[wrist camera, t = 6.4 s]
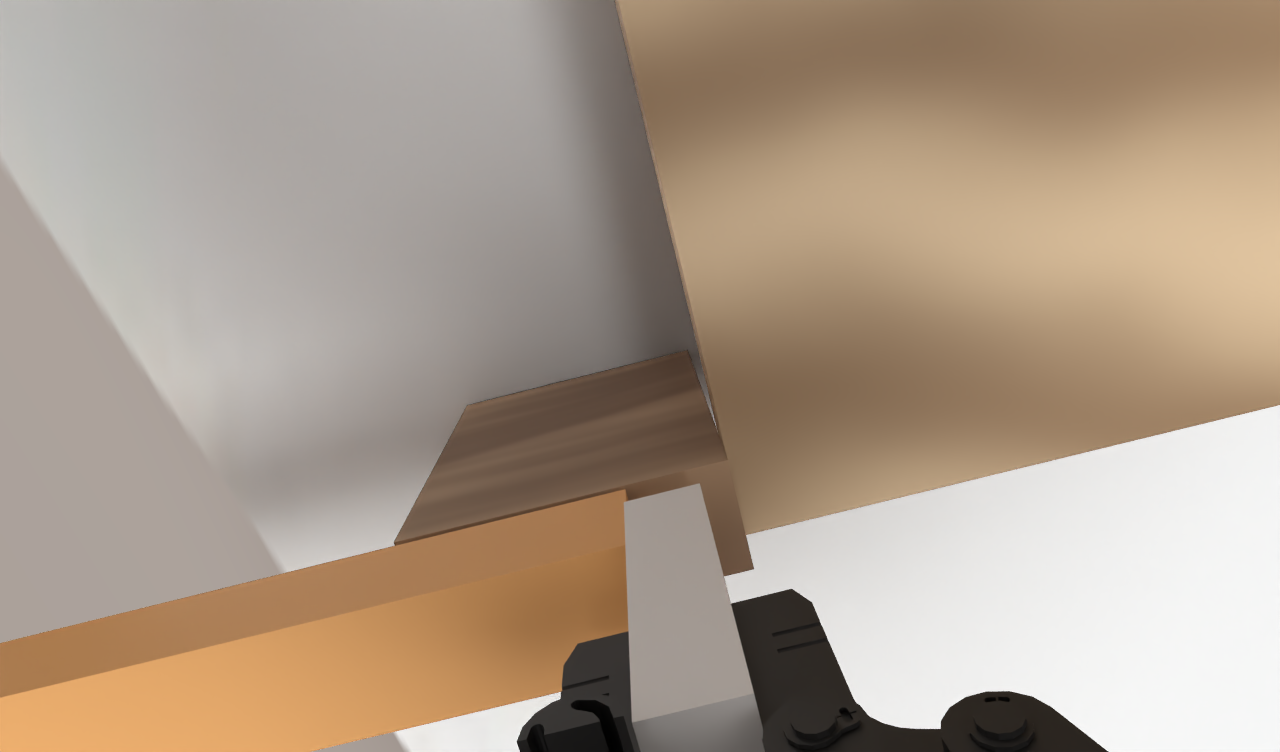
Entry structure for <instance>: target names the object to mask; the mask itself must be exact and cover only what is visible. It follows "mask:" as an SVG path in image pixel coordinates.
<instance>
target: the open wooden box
mask: <svg viewBox="0 0 1280 752" xmlns="http://www.w3.org/2000/svg"><path fill="white" fill-rule="evenodd" d="M699 483H700V486H701V490H702V494H703V498H704V502H705V506H706V510H707V513H708V517H709V521H710V525H711V529H712V533H713V537H714V540H715V544H716V548H717V552H718V556H719V560H720V564H721V568H722V571H723V575H724V576H727V575H732V574H736V573H740V572H744V571H748V570H752V569H754V567H753V563H752V559H751V555H750V551H749V546H748V542H747V538H746V534H745V530H744V525H743V521H742V517H741V513H740V509H739V505H738V500H737V496H736V492H735V488H734V484H733V479H732V475H731V471H730V467H729V463H728V459H727V456H726V454H725V451H724V448H723V445H722V443H721V440H720V437H719V434H718V432H717V429H716V426H715V424H714V421H713V418H712V415H711V413H710V410H709V407H708V405H707V402H706V399H705V396H704V394H703V391H702V388H701V386H700V383H699V380H698V377H697V375H696V372H695V369H694V366H693V364H692V361H691V358H690V356H689V353H688V350H686V351H682V352H678V353H674V354H670V355H666V356H662V357H658V358H654V359H650V360H646V361H642V362H638V363H634V364H630V365H626V366H622V367H618V368H614V369H610V370H606V371H602V372H598V373H594V374H590V375H586V376H582V377H578V378H574V379H570V380H566V381H562V382H558V383H554V384H550V385H546V386H542V387H538V388H534V389H530V390H526V391H522V392H518V393H514V394H510V395H507V396H503V397H499V398H495V399H491V400H487V401H483V402H479V403H475V404H471V405H467V407H466V408H465V410H464V412H463V414H462V416H461V418H460V420H459V421H458V423H457V425H456V427H455V429H454V431H453V433H452V435H451V436H450V438H449V440H448V442H447V444H446V446H445V448H444V450H443V451H442V453H441V455H440V457H439V459H438V461H437V463H436V464H435V466H434V468H433V470H432V472H431V474H430V476H429V478H428V479H427V481H426V483H425V485H424V487H423V489H422V491H421V492H420V494H419V496H418V498H417V500H416V502H415V504H414V506H413V507H412V509H411V511H410V513H409V515H408V517H407V519H406V521H405V522H404V524H403V526H402V528H401V530H400V532H399V534H398V535H397V537H396V539H395V541H394V544H395V546H396V545H401V544H405V543H409V542H413V541H417V540H421V539H425V538H429V537H433V536H437V535H441V534H445V533H449V532H453V531H457V530H461V529H465V528H470V527H474V526H478V525H482V524H486V523H490V522H494V521H498V520H502V519H506V518H510V517H514V516H518V515H522V514H526V513H530V512H534V511H538V510H543V509H547V508H551V507H555V506H559V505H563V504H567V503H571V502H575V501H579V500H583V499H587V498H591V497H595V496H599V495H603V494H607V493H612V492H616V491H620V490H624V489H625V490H626V493H627V497H628V501H630V500H634V499H638V498H642V497H646V496H650V495H654V494H658V493H662V492H666V491H670V490H674V489H678V488H683V487H687V486H691V485H695V484H699Z"/></svg>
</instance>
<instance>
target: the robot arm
mask: <svg viewBox="0 0 1280 752" xmlns="http://www.w3.org/2000/svg"><path fill="white" fill-rule="evenodd" d="M624 522H625V549H626V576H627V603H628V630H629V631H627V632H623V633H619V634H615V635H611V636H607V637H603V638H599V639H594V640H590V641H586V642H582V643H578V644H577V645H576V647H575V649H574V650H573V652H572V653H571V655H570V656H569V658H568V659H567V661H566V662H565V664H564V665H563V677H562V691H561V699H560V700H557V701H555V702H552V703H551V704H549V705H548V706H546V707H544V708H543V709H541V710H540V711H538V712H537V713H535V714H534V715H533V716H532V718H531V719H530V720H529V721H528V722H527V723H526V724H525V725H524V726H523V728H522V730H521V732H520V735H519V737H518V740H517V744H518V747H519V750H520V752H1108V751H1106V750H1105V749H1104V748H1103V747H1101V746H1100V745H1099V744H1098V743H1096V742H1095V741H1094V740H1092V739H1091V738H1090V737H1089V736H1087V735H1086V734H1085V733H1084V732H1082V731H1081V730H1080V729H1078V728H1077V727H1076V726H1075V725H1073V724H1072V723H1071V722H1069V721H1068V720H1067V719H1066V718H1064V717H1063V716H1062V715H1061V714H1059V713H1058V712H1057V711H1055V710H1054V709H1053V708H1052V707H1050V706H1048V705H1046V704H1045V703H1043V702H1041V701H1039V700H1037V699H1036V698H1034V697H1031V696H1027V695H1023V694H1019V693H1014V692H1010V691H1002V692H983V693H980V694H976V695H972V696H968V697H965V698H964V699H962V700H961V701H959V702H957V703H956V704H954V705H953V706H951V707H950V708H949V709H948V711H947V713H946V714H945V716H944V717H943V719H942V720H941V729H909V728H899V727H895V726H891V725H887V724H883V723H881V722H879V721H877V720H875V719H873V718H871V717H869V716H868V715H867V714H866V712H865V711H864V710H863V709H862V707H861V706H860V705H858V704H856V702H855V701H854V699H853V697H852V694H851V692H850V690H849V687H848V685H847V683H846V680H845V678H844V676H843V673H842V671H841V669H840V667H839V664H838V662H837V660H836V657H835V655H834V653H833V650H832V648H831V646H830V643H829V641H828V640H827V636H826V634H825V632H824V630H823V627H822V625H821V623H820V620H819V618H818V616H817V613H816V611H815V609H814V606H813V604H812V602H810V601H809V600H807V599H806V598H804V597H803V596H802V595H800V594H799V593H797V592H796V591H794V590H793V589H789V590H785V591H781V592H777V593H773V594H769V595H765V596H761V597H757V598H752V599H748V600H744V601H740V602H736V603H732V604H731V602H730V599H729V595H728V591H727V587H726V583H725V579H724V575H723V571H722V568H721V564H720V560H719V556H718V552H717V548H716V544H715V540H714V537H713V533H712V529H711V525H710V521H709V517H708V513H707V510H706V506H705V502H704V498H703V494H702V490H701V486H700V483H699V484H695V485H691V486H687V487H683V488H678V489H674V490H670V491H666V492H662V493H658V494H654V495H650V496H646V497H642V498H638V499H634V500H630V501H626V502H624Z"/></svg>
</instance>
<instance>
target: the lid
mask: <svg viewBox="0 0 1280 752" xmlns="http://www.w3.org/2000/svg"><path fill="white" fill-rule="evenodd" d="M615 4H616V9H617V13H618V17H619V21H620V25H621V29H622V34H623V38H624V42H625V46H626V50H627V55H628V59H629V63H630V67H631V71H632V75H633V80H634V84H635V88H636V92H637V96H638V100H639V105H640V109H641V113H642V117H643V121H644V126H645V130H646V134H647V138H648V142H649V146H650V151H651V155H652V159H653V163H654V167H655V171H656V176H657V180H658V184H659V188H660V192H661V196H662V201H663V205H664V209H665V213H666V217H667V222H668V226H669V230H670V234H671V238H672V242H673V247H674V251H675V255H676V259H677V263H678V267H679V272H680V276H681V280H682V284H683V288H684V293H685V297H686V301H687V305H688V309H689V313H690V318H691V322H692V326H693V330H694V334H695V338H696V343H697V347H698V351H699V355H700V359H701V364H702V368H703V372H704V376H705V380H706V384H707V389H708V393H709V397H710V401H711V405H712V409H713V414H714V418H715V422H716V426H717V430H718V434H719V437H720V440H721V443H722V445H723V448H724V451H725V454H726V456H727V459H728V463H729V467H730V471H731V475H732V479H733V484H734V488H735V492H736V496H737V500H738V505H739V509H740V513H741V517H742V521H743V525H744V530H745V534H746V535H748V534H752V533H756V532H760V531H764V530H768V529H773V528H777V527H781V526H785V525H789V524H793V523H797V522H801V521H805V520H809V519H814V518H818V517H822V516H826V515H830V514H834V513H838V512H842V511H846V510H851V509H855V508H859V507H863V506H867V505H871V504H875V503H879V502H883V501H887V500H892V499H896V498H900V497H904V496H908V495H912V494H916V493H920V492H924V491H929V490H933V489H937V488H941V487H945V486H949V485H953V484H957V483H961V482H965V481H970V480H974V479H978V478H982V477H986V476H990V475H994V474H998V473H1002V472H1007V471H1011V470H1015V469H1019V468H1023V467H1027V466H1031V465H1035V464H1039V463H1043V462H1048V461H1052V460H1056V459H1060V458H1064V457H1068V456H1072V455H1076V454H1080V453H1084V452H1089V451H1093V450H1097V449H1101V448H1105V447H1109V446H1113V445H1117V444H1121V443H1126V442H1130V441H1134V440H1138V439H1142V438H1146V437H1150V436H1154V435H1158V434H1162V433H1167V432H1171V431H1175V430H1179V429H1183V428H1187V427H1191V426H1195V425H1199V424H1204V423H1208V422H1212V421H1216V420H1220V419H1224V418H1228V417H1232V416H1236V415H1240V414H1245V413H1249V412H1253V411H1257V410H1261V409H1265V408H1269V407H1273V406H1277V405H1280V0H615Z"/></svg>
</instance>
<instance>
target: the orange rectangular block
mask: <svg viewBox="0 0 1280 752" xmlns="http://www.w3.org/2000/svg"><path fill="white" fill-rule="evenodd" d="M626 501H628V497H627V493H626V490H625V489H624V490H620V491H616V492H612V493H607V494H603V495H599V496H595V497H591V498H587V499H583V500H579V501H575V502H571V503H567V504H563V505H559V506H555V507H551V508H547V509H543V510H538V511H534V512H530V513H526V514H522V515H518V516H514V517H510V518H506V519H502V520H498V521H494V522H490V523H486V524H482V525H478V526H474V527H470V528H465V529H461V530H457V531H453V532H449V533H445V534H441V535H437V536H433V537H429V538H425V539H421V540H417V541H413V542H409V543H405V544H401V545H396V546H392V547H388V548H384V549H380V550H376V551H372V552H368V553H364V554H360V555H356V556H352V557H348V558H344V559H340V560H336V561H332V562H327V563H323V564H319V565H315V566H311V567H307V568H303V569H299V570H295V571H291V572H287V573H283V574H279V575H275V576H271V577H267V578H263V579H259V580H255V581H250V582H247V583H242V584H238V585H234V586H230V587H226V588H222V589H218V590H214V591H210V592H206V593H202V594H198V595H194V596H190V597H186V598H182V599H177V600H173V601H169V602H165V603H161V604H157V605H153V606H149V607H145V608H141V609H137V610H133V611H129V612H125V613H121V614H116V615H112V616H108V617H105V618H100V619H96V620H92V621H88V622H84V623H80V624H76V625H72V626H68V627H64V628H60V629H56V630H52V631H48V632H43V633H39V634H36V635H31V636H27V637H23V638H19V639H15V640H11V641H8V642H3V643H0V752H311V751H315V750H320V749H324V748H328V747H332V746H336V745H340V744H345V743H349V742H353V741H357V740H361V739H366V738H369V737H374V736H378V735H382V734H386V733H391V732H395V731H399V730H403V729H407V728H411V727H416V726H420V725H424V724H428V723H432V722H437V721H441V720H445V719H449V718H453V717H457V716H462V715H466V714H470V713H474V712H478V711H482V710H487V709H491V708H495V707H499V706H503V705H508V704H512V703H516V702H520V701H524V700H528V699H533V698H537V697H541V696H545V695H549V694H553V693H558V692H561V691H562V677H563V665H564V664H565V662H566V661H567V659H568V658H569V656H570V655H571V653H572V652H573V650H574V649H575V647H576V645H577V644H578V643H582V642H586V641H590V640H594V639H599V638H603V637H607V636H611V635H615V634H619V633H623V632H627V631H629V630H628V603H627V576H626V549H625V522H624V502H626Z"/></svg>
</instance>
